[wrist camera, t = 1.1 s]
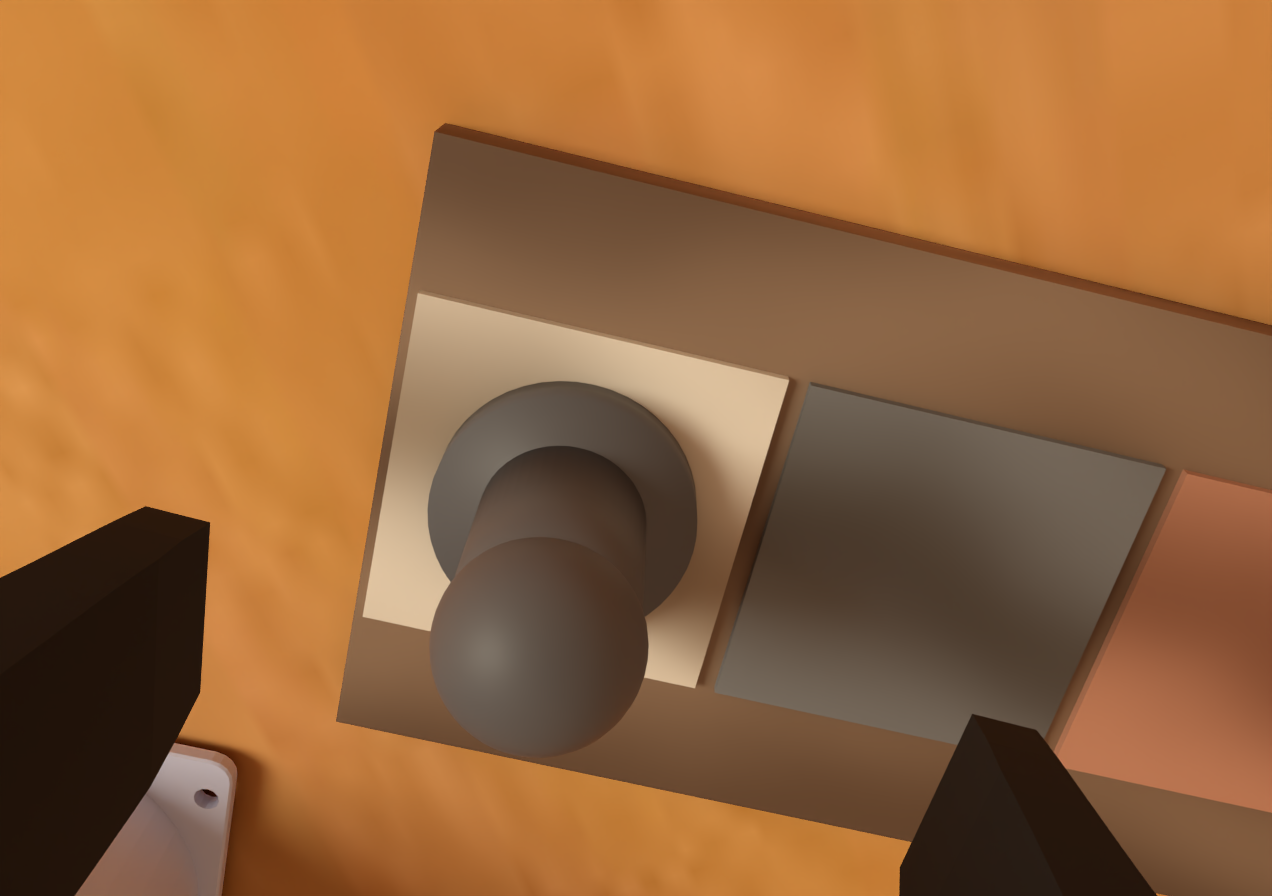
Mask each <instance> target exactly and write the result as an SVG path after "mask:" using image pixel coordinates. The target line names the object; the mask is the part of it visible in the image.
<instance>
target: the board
mask: <svg viewBox="0 0 1272 896" xmlns="http://www.w3.org/2000/svg"><path fill="white" fill-rule="evenodd" d="M552 381H571V382H581V383H587V384H593V385H597V386H600V387H604V388H607V389H610V390H613V391H615V392H617V393H620V394H622V395H624V396H627V397H628V398H630V399H632V400H634V401H635V402H637V403H639V404H640V405H642V406H643V407H645V408H646V409H647V410H648V411H650V412H651V413H652V414H654V415H655V416H656V417H657V418H658V419H659V420H660V421H661V422H662V423H663V424H664V425H665V426H666V427H667V428H668V429H669V431H670V432H671V433H672V435H673V436H674V437H675V439H676V440H677V441H678V443H679V445H680V447H681V448H682V450H683V452H684V454H685V456H686V458H687V460H688V463H689V466H690V468H691V471H692V475H693V479H694V483H695V490H696V502H697V537H696V542H695V547H694V551H693V555H692V557H691V560H690V563H689V565H688V568H687V570H686V572H685V574H684V575H683V577H682V579H681V581H680V582H679V584H678V585H677V586H676V588H675V589H674V590H673V592H672V593H671V594H670V595H669V597H668V598H667V599H666V600H665V601H664V602H663V603H662V604H661V605H660V606H658V607H657V608H656V609H655V610H653V611H652V612H651V613H650V614H648V615H647V616H645V620H646V623H647V631H648V642H649V649H648V661H647V666H646V671H645V676H644V679H643V682H642V684H641V687H640V690H639V692H638V694H637V696H636V698H635V700H634V702H633V704H632V705H631V707H630V708H629V709H628V711H627V712H626V713H625V715H624V716H623V717H622V719H621V720H620V721H619V722H618V723H617V724H616V725H615V726H614V727H613V728H612V729H611V730H610V731H609V732H607V733H606V734H605V735H603V736H602V737H601V738H599V739H598V740H597V741H595V742H593V743H591V744H590V745H588V746H586V747H584V748H581V749H579V750H577V751H574V752H570V753H567V754H564V755H560V756H554V757H545V758H529V757H521V756H515V755H511V754H507V753H504V752H501V751H499V750H496V749H493V748H491V747H490V746H488V745H486V744H484V743H482V742H481V741H479V740H478V739H476V738H475V737H473V736H472V735H471V734H470V733H468V732H467V731H466V730H465V729H464V728H463V727H461V726H460V724H459V723H458V722H457V721H456V720H455V719H454V718H453V716H452V715H451V713H450V712H449V711H448V709H447V708H446V706H445V704H444V703H443V701H442V699H441V697H440V695H439V693H438V691H437V688H436V685H435V682H434V678H433V675H432V670H431V665H430V649H429V641H430V632H431V627H432V622H433V618H434V615H435V611H436V609H437V606H438V604H439V602H440V600H441V598H442V596H443V594H444V592H445V590H446V589H447V587H448V586H449V584H450V583H451V582H450V581H449V579H448V578H447V576H446V575H445V573H444V572H443V570H442V568H441V566H440V564H439V562H438V560H437V558H436V555H435V552H434V549H433V546H432V543H431V540H430V534H429V528H428V512H427V509H428V500H429V493H430V489H431V485H432V481H433V478H434V475H435V473H436V471H437V469H438V466H439V464H440V462H441V459H442V457H443V455H444V453H445V450H446V448H447V446H448V444H449V442H450V441H451V439H452V438H453V436H454V434H455V433H456V431H457V430H458V429H459V428H460V427H461V425H462V424H463V423H464V422H465V421H466V420H467V419H468V418H469V417H470V416H471V415H472V414H473V413H474V412H475V411H476V410H478V409H479V408H480V407H482V406H483V405H485V404H486V403H488V402H489V401H491V400H492V399H494V398H496V397H498V396H500V395H502V394H504V393H506V392H508V391H511V390H514V389H517V388H520V387H522V386H526V385H531V384H536V383H541V382H552ZM972 714H975V715H979V716H983V717H987V718H991V719H995V720H999V721H1003V722H1007V723H1011V724H1015V725H1019V726H1023V727H1027V728H1031V729H1035V730H1037V731H1038V732H1039V734H1040V735H1041V736H1042V737H1043V739H1044V740H1045V741H1046V743H1047V744H1048V745H1049V746H1050V748H1051V749H1052V751H1053V752H1054V753H1055V755H1056V756H1057V757H1058V759H1059V760H1060V761H1061V763H1062V764H1063V766H1064V767H1065V768H1066V770H1067V771H1068V772H1069V774H1070V775H1071V777H1072V778H1073V779H1074V781H1075V782H1076V784H1077V785H1078V787H1079V788H1080V789H1081V791H1082V792H1083V794H1084V795H1085V796H1086V798H1087V799H1088V801H1089V802H1090V803H1091V805H1092V806H1093V808H1094V809H1095V810H1096V812H1097V813H1098V815H1099V816H1100V817H1101V819H1102V820H1103V822H1104V823H1105V824H1106V826H1107V827H1108V829H1109V830H1110V831H1111V833H1112V834H1113V836H1114V837H1115V838H1116V840H1117V841H1118V843H1119V844H1120V846H1121V847H1122V848H1123V850H1124V851H1125V852H1126V854H1127V855H1128V857H1129V858H1130V859H1131V861H1132V862H1133V863H1134V865H1135V866H1136V868H1137V869H1138V870H1139V872H1140V873H1141V874H1142V876H1143V877H1144V879H1145V880H1146V881H1147V883H1148V884H1149V885H1150V887H1151V888H1152V889H1153V891H1154V892H1155V893H1158V894H1163V895H1167V896H1272V326H1271V325H1267V324H1263V323H1259V322H1255V321H1251V320H1247V319H1243V318H1239V317H1234V316H1230V315H1226V314H1222V313H1218V312H1214V311H1210V310H1206V309H1202V308H1198V307H1194V306H1190V305H1185V304H1181V303H1177V302H1173V301H1169V300H1165V299H1161V298H1157V297H1153V296H1149V295H1145V294H1141V293H1136V292H1132V291H1128V290H1124V289H1120V288H1116V287H1112V286H1108V285H1104V284H1100V283H1096V282H1092V281H1087V280H1083V279H1079V278H1075V277H1071V276H1067V275H1063V274H1059V273H1055V272H1051V271H1047V270H1043V269H1038V268H1034V267H1030V266H1026V265H1022V264H1018V263H1014V262H1010V261H1006V260H1002V259H998V258H994V257H989V256H985V255H981V254H977V253H973V252H969V251H965V250H961V249H957V248H953V247H949V246H945V245H940V244H936V243H932V242H928V241H924V240H920V239H916V238H912V237H908V236H904V235H900V234H896V233H891V232H887V231H883V230H879V229H875V228H871V227H867V226H863V225H859V224H855V223H851V222H847V221H842V220H838V219H834V218H830V217H826V216H822V215H818V214H814V213H810V212H806V211H802V210H798V209H793V208H789V207H785V206H781V205H777V204H773V203H769V202H765V201H761V200H757V199H753V198H749V197H744V196H740V195H736V194H732V193H728V192H724V191H720V190H716V189H712V188H708V187H704V186H700V185H695V184H691V183H687V182H683V181H679V180H675V179H671V178H667V177H663V176H659V175H655V174H651V173H646V172H642V171H638V170H634V169H630V168H626V167H622V166H618V165H614V164H610V163H606V162H602V161H597V160H593V159H589V158H585V157H581V156H577V155H573V154H569V153H565V152H561V151H557V150H553V149H548V148H544V147H540V146H536V145H532V144H528V143H524V142H520V141H516V140H512V139H508V138H504V137H499V136H495V135H491V134H487V133H483V132H479V131H475V130H471V129H467V128H463V127H459V126H455V125H450V124H446V123H445V124H444V125H442V126H441V127H440V128H439V129H437V130H436V131H435V132H434V138H433V144H432V150H431V156H430V162H429V168H428V174H427V180H426V186H425V192H424V198H423V204H422V210H421V216H420V222H419V228H418V234H417V240H416V246H415V252H414V258H413V264H412V270H411V276H410V282H409V288H408V294H407V300H406V306H405V312H404V318H403V324H402V330H401V336H400V342H399V348H398V354H397V360H396V366H395V372H394V378H393V384H392V390H391V396H390V402H389V408H388V414H387V420H386V426H385V432H384V438H383V444H382V449H381V455H380V461H379V467H378V473H377V479H376V485H375V491H374V497H373V503H372V509H371V515H370V521H369V527H368V533H367V539H366V545H365V551H364V557H363V563H362V569H361V575H360V581H359V587H358V593H357V599H356V605H355V611H354V617H353V623H352V629H351V635H350V641H349V647H348V653H347V659H346V665H345V671H344V677H343V683H342V689H341V695H340V701H339V707H338V713H337V719H336V722H341V723H346V724H351V725H355V726H360V727H365V728H370V729H375V730H379V731H384V732H389V733H394V734H398V735H403V736H408V737H413V738H418V739H422V740H427V741H432V742H437V743H441V744H446V745H451V746H456V747H461V748H465V749H470V750H475V751H480V752H484V753H489V754H494V755H499V756H504V757H508V758H513V759H518V760H523V761H527V762H532V763H537V764H542V765H547V766H551V767H556V768H561V769H566V770H570V771H575V772H580V773H585V774H590V775H594V776H599V777H604V778H609V779H613V780H618V781H623V782H628V783H633V784H637V785H642V786H647V787H652V788H656V789H661V790H666V791H671V792H676V793H680V794H685V795H690V796H695V797H699V798H704V799H709V800H714V801H718V802H723V803H728V804H733V805H738V806H742V807H747V808H752V809H757V810H761V811H766V812H771V813H776V814H781V815H785V816H790V817H795V818H800V819H804V820H809V821H814V822H819V823H824V824H828V825H833V826H838V827H843V828H847V829H852V830H857V831H862V832H867V833H871V834H876V835H881V836H886V837H890V838H895V839H900V840H905V841H910V842H912V841H913V839H914V837H915V834H916V832H917V830H918V828H919V826H920V824H921V822H922V819H923V817H924V815H925V813H926V811H927V809H928V807H929V805H930V802H931V800H932V798H933V796H934V794H935V792H936V790H937V788H938V785H939V783H940V781H941V779H942V777H943V775H944V773H945V770H946V768H947V766H948V764H949V762H950V760H951V758H952V756H953V753H954V751H955V749H956V747H957V745H958V743H959V741H960V739H961V736H962V734H963V732H964V730H965V728H966V726H967V724H968V721H969V719H970V717H971V715H972Z"/></svg>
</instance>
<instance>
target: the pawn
mask: <svg viewBox="0 0 1272 896" xmlns="http://www.w3.org/2000/svg"><path fill="white" fill-rule="evenodd" d="M427 512H428V528H429V534H430V540H431V543H432V546H433V549H434V552H435V555H436V558H437V560H438V562H439V564H440V566H441V568H442V570H443V572H444V573H445V575H446V576H447V578H448V579H449V581H450V582H451V583H450V584H449V586H448V587H447V589H446V590H445V592H444V594H443V596H442V598H441V600H440V602H439V604H438V606H437V609H436V611H435V615H434V618H433V622H432V627H431V632H430V641H429V649H430V665H431V670H432V675H433V678H434V682H435V685H436V688H437V691H438V693H439V695H440V697H441V699H442V701H443V703H444V704H445V706H446V708H447V709H448V711H449V712H450V713H451V715H452V716H453V718H454V719H455V720H456V721H457V722H458V723H459V724H460V726H461V727H463V728H464V729H465V730H466V731H467V732H468V733H470V734H471V735H472V736H473V737H475V738H476V739H478V740H479V741H481V742H482V743H484V744H486V745H488V746H490V747H491V748H493V749H496V750H499V751H501V752H504V753H507V754H511V755H515V756H521V757H529V758H545V757H554V756H560V755H564V754H567V753H570V752H574V751H577V750H579V749H581V748H584V747H586V746H588V745H590V744H591V743H593V742H595V741H597V740H598V739H599V738H601V737H602V736H603V735H605V734H606V733H607V732H609V731H610V730H611V729H612V728H613V727H614V726H615V725H616V724H617V723H618V722H619V721H620V720H621V719H622V717H623V716H624V715H625V713H626V712H627V711H628V709H629V708H630V707H631V705H632V704H633V702H634V700H635V698H636V696H637V694H638V692H639V690H640V687H641V684H642V682H643V679H644V676H645V671H646V666H647V661H648V649H649V642H648V631H647V623H646V620H645V616H647V615H648V614H650V613H651V612H652V611H653V610H655V609H656V608H657V607H658V606H660V605H661V604H662V603H663V602H664V601H665V600H666V599H667V598H668V597H669V595H670V594H671V593H672V592H673V590H674V589H675V588H676V586H677V585H678V584H679V582H680V581H681V579H682V577H683V575H684V574H685V572H686V570H687V568H688V565H689V563H690V560H691V557H692V555H693V551H694V547H695V542H696V537H697V502H696V490H695V483H694V479H693V475H692V471H691V468H690V466H689V463H688V460H687V458H686V456H685V454H684V452H683V450H682V448H681V447H680V445H679V443H678V441H677V440H676V439H675V437H674V436H673V435H672V433H671V432H670V431H669V429H668V428H667V427H666V426H665V425H664V424H663V423H662V422H661V421H660V420H659V419H658V418H657V417H656V416H655V415H654V414H652V413H651V412H650V411H648V410H647V409H646V408H645V407H643V406H642V405H640V404H639V403H637V402H635V401H634V400H632V399H630V398H628V397H627V396H624V395H622V394H620V393H617V392H615V391H613V390H610V389H607V388H604V387H600V386H597V385H593V384H587V383H581V382H571V381H552V382H541V383H536V384H531V385H526V386H522V387H520V388H517V389H514V390H511V391H508V392H506V393H504V394H502V395H500V396H498V397H496V398H494V399H492V400H491V401H489V402H488V403H486V404H485V405H483V406H482V407H480V408H479V409H478V410H476V411H475V412H474V413H473V414H472V415H471V416H470V417H469V418H468V419H467V420H466V421H465V422H464V423H463V424H462V425H461V427H460V428H459V429H458V430H457V431H456V433H455V434H454V436H453V438H452V439H451V441H450V442H449V444H448V446H447V448H446V450H445V453H444V455H443V457H442V459H441V462H440V464H439V466H438V469H437V471H436V473H435V475H434V478H433V481H432V485H431V489H430V493H429V500H428V509H427Z"/></svg>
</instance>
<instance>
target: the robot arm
mask: <svg viewBox="0 0 1272 896" xmlns="http://www.w3.org/2000/svg"><path fill="white" fill-rule="evenodd" d="M209 532H210V522H206V521H202V520H198V519H194V518H190V517H186V516H182V515H178V514H174V513H170V512H166V511H162V510H158V509H154V508H150V507H146V506H145V507H143V508H141V509H139V510H137V511H134V512H132V513H130V514H128V515H126V516H124V517H122V518H119V519H117V520H115V521H113V522H111V523H109V524H107V525H105V526H103V527H101V528H99V529H97V530H95V531H93V532H91V533H89V534H87V535H85V536H83V537H81V538H79V539H77V540H75V541H73V542H71V543H69V544H67V545H66V546H64V547H62V548H60V549H58V550H56V551H54V552H52V553H50V554H48V555H46V556H44V557H42V558H40V559H38V560H36V561H34V562H32V563H30V564H28V565H26V566H24V567H22V568H20V569H18V570H16V571H13V572H11V573H9V574H7V575H5V576H3V577H1V578H0V896H222V889H223V881H224V874H225V866H226V858H227V851H228V843H229V835H230V828H231V820H232V812H233V805H234V797H235V789H236V782H237V767H236V766H235V764H234V762H233V761H232V760H231V759H230V758H229V757H227V756H226V755H224V754H221V753H219V752H216V751H211V750H206V749H201V748H196V747H192V746H187V745H182V744H177V743H175V741H176V739H177V737H178V735H179V733H180V731H181V729H182V727H183V725H184V723H185V721H186V719H187V717H188V715H189V713H190V711H191V709H192V707H193V705H194V703H195V701H196V699H197V698H198V696H199V694H200V685H201V668H202V651H203V634H204V617H205V600H206V583H207V566H208V549H209ZM202 789H208V790H211V791H213V792H214V793H215V794H216V795H217V796H218V797H211V796H209V795H207V794H205V793H204V792H203V791H202ZM899 896H1157V895H1156V893H1155V892H1154V891H1153V889H1152V888H1151V887H1150V885H1149V884H1148V883H1147V881H1146V880H1145V879H1144V877H1143V876H1142V874H1141V873H1140V872H1139V870H1138V869H1137V868H1136V866H1135V865H1134V863H1133V862H1132V861H1131V859H1130V858H1129V857H1128V855H1127V854H1126V852H1125V851H1124V850H1123V848H1122V847H1121V846H1120V844H1119V843H1118V841H1117V840H1116V838H1115V837H1114V836H1113V834H1112V833H1111V831H1110V830H1109V829H1108V827H1107V826H1106V824H1105V823H1104V822H1103V820H1102V819H1101V817H1100V816H1099V815H1098V813H1097V812H1096V810H1095V809H1094V808H1093V806H1092V805H1091V803H1090V802H1089V801H1088V799H1087V798H1086V796H1085V795H1084V794H1083V792H1082V791H1081V789H1080V788H1079V787H1078V785H1077V784H1076V782H1075V781H1074V779H1073V778H1072V777H1071V775H1070V774H1069V772H1068V771H1067V770H1066V768H1065V767H1064V766H1063V764H1062V763H1061V761H1060V760H1059V759H1058V757H1057V756H1056V755H1055V753H1054V752H1053V751H1052V749H1051V748H1050V746H1049V745H1048V744H1047V743H1046V741H1045V740H1044V739H1043V737H1042V736H1041V735H1040V734H1039V732H1038V731H1037V730H1035V729H1031V728H1027V727H1023V726H1019V725H1015V724H1011V723H1007V722H1003V721H999V720H995V719H991V718H987V717H983V716H979V715H975V714H972V715H971V717H970V719H969V721H968V724H967V726H966V728H965V730H964V732H963V734H962V736H961V739H960V741H959V743H958V745H957V747H956V749H955V751H954V753H953V756H952V758H951V760H950V762H949V764H948V766H947V768H946V770H945V773H944V775H943V777H942V779H941V781H940V783H939V785H938V788H937V790H936V792H935V794H934V796H933V798H932V800H931V802H930V805H929V807H928V809H927V811H926V813H925V815H924V817H923V819H922V822H921V824H920V826H919V828H918V830H917V832H916V834H915V837H914V839H913V841H912V843H911V845H910V847H909V849H908V851H907V854H906V856H905V858H904V860H903V862H902V864H901V866H900V895H899Z"/></svg>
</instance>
